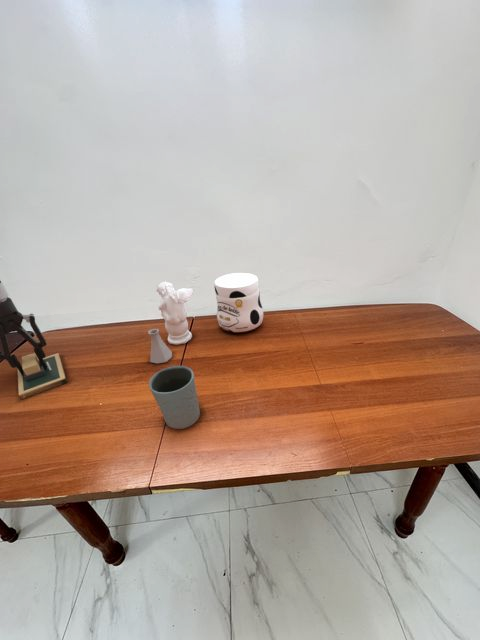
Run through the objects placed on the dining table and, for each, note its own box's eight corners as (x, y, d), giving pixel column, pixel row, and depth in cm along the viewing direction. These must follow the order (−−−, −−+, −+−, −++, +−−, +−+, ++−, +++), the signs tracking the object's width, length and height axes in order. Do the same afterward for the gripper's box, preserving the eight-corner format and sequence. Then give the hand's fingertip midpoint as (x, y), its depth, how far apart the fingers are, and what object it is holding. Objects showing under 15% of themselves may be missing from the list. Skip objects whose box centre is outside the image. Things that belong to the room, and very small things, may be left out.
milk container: (215, 338, 105) (207, 290, 95) (221, 316, 119) (215, 273, 110) (264, 335, 104) (260, 287, 94) (264, 314, 119) (261, 270, 109)
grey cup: (183, 437, 68) (171, 398, 61) (152, 422, 72) (138, 385, 66) (210, 409, 75) (202, 371, 68) (181, 397, 79) (170, 361, 73)
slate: (20, 370, 95) (17, 366, 94) (60, 357, 101) (58, 352, 100) (21, 399, 83) (18, 395, 82) (67, 382, 88) (65, 377, 87)
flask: (175, 351, 99) (168, 325, 94) (167, 364, 93) (160, 337, 88) (155, 351, 100) (147, 325, 94) (146, 364, 94) (137, 337, 88)
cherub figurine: (167, 333, 110) (152, 276, 98) (201, 327, 112) (189, 271, 100) (168, 350, 100) (150, 289, 88) (204, 343, 102) (192, 282, 90)
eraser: (25, 367, 93) (18, 356, 91) (43, 361, 96) (37, 351, 94) (26, 381, 87) (19, 370, 85) (45, 374, 90) (39, 364, 87)
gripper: (-53, 316, 72) (-1, 388, 85) (33, 295, 81) (68, 364, 93) (-49, 306, 77) (-1, 376, 90) (31, 288, 86) (65, 354, 98)
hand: (34, 370), depth 92 cm, fingers closed on eraser, 5 cm apart
